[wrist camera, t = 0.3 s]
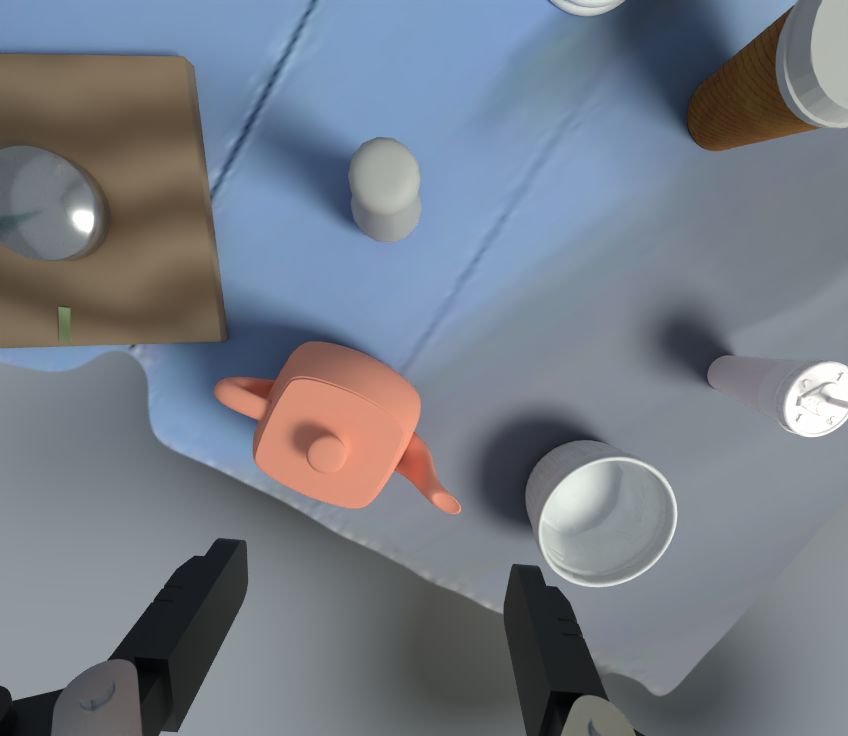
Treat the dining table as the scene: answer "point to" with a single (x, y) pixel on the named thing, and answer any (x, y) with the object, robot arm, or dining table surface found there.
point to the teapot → (336, 426)
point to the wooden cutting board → (116, 203)
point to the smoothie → (787, 390)
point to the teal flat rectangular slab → (50, 206)
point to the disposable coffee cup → (778, 81)
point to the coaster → (586, 6)
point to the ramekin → (599, 513)
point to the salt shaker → (385, 189)
